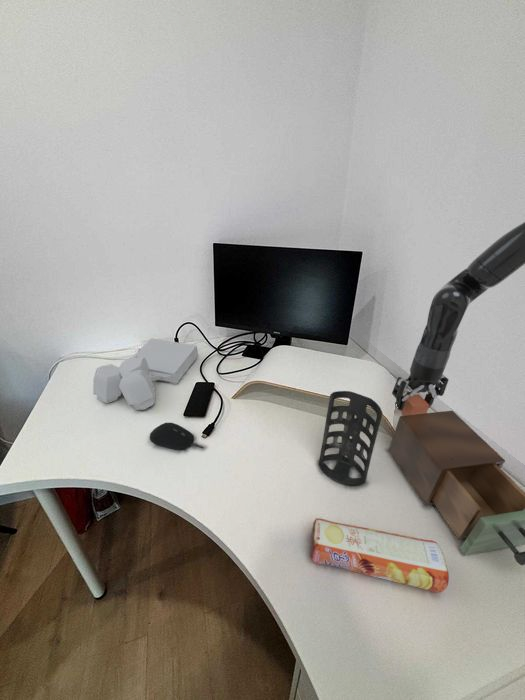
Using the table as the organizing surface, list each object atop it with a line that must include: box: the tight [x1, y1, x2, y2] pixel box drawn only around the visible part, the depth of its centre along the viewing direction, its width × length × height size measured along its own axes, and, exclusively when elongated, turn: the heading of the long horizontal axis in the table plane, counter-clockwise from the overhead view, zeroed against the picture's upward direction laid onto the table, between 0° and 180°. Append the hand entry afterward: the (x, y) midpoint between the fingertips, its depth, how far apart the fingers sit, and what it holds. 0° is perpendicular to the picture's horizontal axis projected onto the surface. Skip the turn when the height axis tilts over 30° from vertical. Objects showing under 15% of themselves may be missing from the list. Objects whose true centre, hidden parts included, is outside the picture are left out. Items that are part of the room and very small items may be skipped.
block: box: [400, 393, 431, 416], centre depth 84 cm, size 5×5×5 cm
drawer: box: [431, 464, 525, 566], centre depth 54 cm, size 18×12×10 cm
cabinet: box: [388, 410, 506, 507], centre depth 65 cm, size 15×14×12 cm
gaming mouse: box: [149, 422, 204, 451], centre depth 74 cm, size 6×15×4 cm, turn 72°
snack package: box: [309, 517, 450, 594], centre depth 50 cm, size 21×7×7 cm, turn 77°
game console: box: [92, 338, 199, 411], centre depth 95 cm, size 20×32×13 cm, turn 164°
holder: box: [318, 390, 384, 487], centre depth 64 cm, size 11×8×20 cm
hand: (412, 407), depth 84 cm, fingers open, 8 cm apart
